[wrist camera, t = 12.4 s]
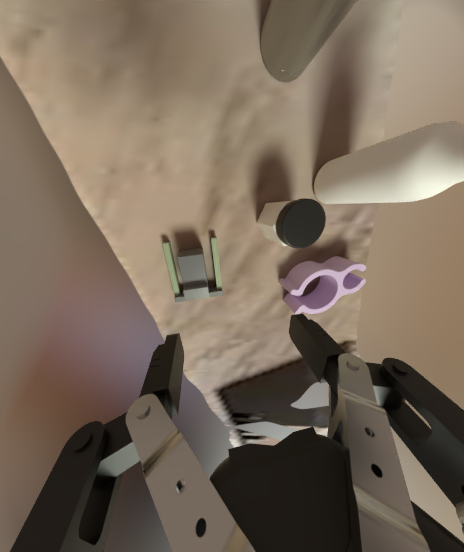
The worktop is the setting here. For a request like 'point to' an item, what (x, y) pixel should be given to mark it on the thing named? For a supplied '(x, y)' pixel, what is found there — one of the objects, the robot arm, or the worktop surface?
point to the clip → (321, 284)
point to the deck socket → (174, 278)
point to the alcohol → (396, 168)
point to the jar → (293, 222)
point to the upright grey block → (193, 273)
